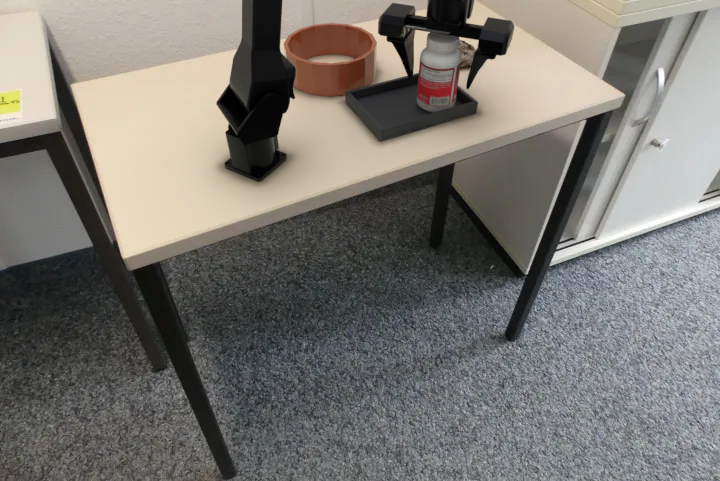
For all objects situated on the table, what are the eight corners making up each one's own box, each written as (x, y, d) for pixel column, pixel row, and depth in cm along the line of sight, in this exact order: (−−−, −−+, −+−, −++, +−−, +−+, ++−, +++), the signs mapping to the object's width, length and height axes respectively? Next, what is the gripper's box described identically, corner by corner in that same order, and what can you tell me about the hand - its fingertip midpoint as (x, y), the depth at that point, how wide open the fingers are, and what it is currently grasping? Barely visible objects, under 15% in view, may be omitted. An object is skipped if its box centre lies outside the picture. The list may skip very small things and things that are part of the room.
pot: (345, 105, 85) (344, 73, 81) (269, 80, 91) (265, 50, 87) (391, 65, 94) (392, 35, 90) (319, 45, 100) (318, 16, 96)
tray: (380, 141, 78) (380, 130, 76) (345, 102, 86) (344, 91, 84) (476, 113, 83) (478, 102, 82) (435, 78, 91) (436, 68, 89)
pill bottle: (435, 90, 87) (443, 23, 79) (462, 105, 84) (473, 37, 76) (408, 102, 85) (413, 34, 77) (435, 118, 81) (443, 49, 73)
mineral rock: (492, 54, 92) (451, 46, 89) (482, 77, 95) (442, 71, 92) (468, 30, 100) (431, 22, 97) (460, 52, 102) (423, 45, 100)
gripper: (530, -35, 73) (508, 69, 85) (403, -51, 78) (398, 50, 89) (517, -6, 66) (495, 103, 77) (378, -26, 71) (375, 80, 82)
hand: (438, 82), depth 82 cm, fingers open, 9 cm apart
